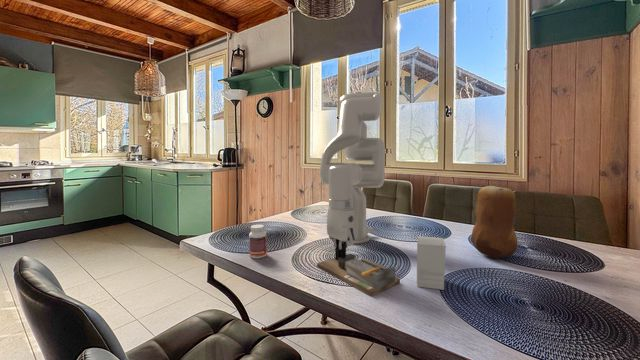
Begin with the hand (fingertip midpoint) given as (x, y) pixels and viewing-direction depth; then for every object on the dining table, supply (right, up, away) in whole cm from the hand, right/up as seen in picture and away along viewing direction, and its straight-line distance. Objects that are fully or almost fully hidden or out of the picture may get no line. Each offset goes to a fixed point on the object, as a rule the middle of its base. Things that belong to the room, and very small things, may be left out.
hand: (340, 259), depth 97 cm
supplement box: (+25, -4, -11) cm, 28 cm away
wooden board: (+4, -3, -5) cm, 8 cm away
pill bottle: (-29, -2, +11) cm, 31 cm away
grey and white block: (+5, -2, -6) cm, 8 cm away
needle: (+8, -3, -14) cm, 16 cm away
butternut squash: (+54, -1, +8) cm, 55 cm away
